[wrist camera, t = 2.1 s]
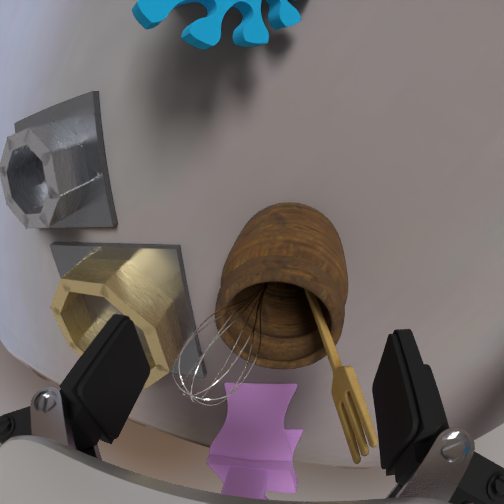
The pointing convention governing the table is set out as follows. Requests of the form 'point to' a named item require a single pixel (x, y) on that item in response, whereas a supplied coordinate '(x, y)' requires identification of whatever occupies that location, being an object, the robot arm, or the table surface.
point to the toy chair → (256, 442)
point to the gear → (209, 28)
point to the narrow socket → (59, 167)
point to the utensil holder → (289, 307)
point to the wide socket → (128, 300)
